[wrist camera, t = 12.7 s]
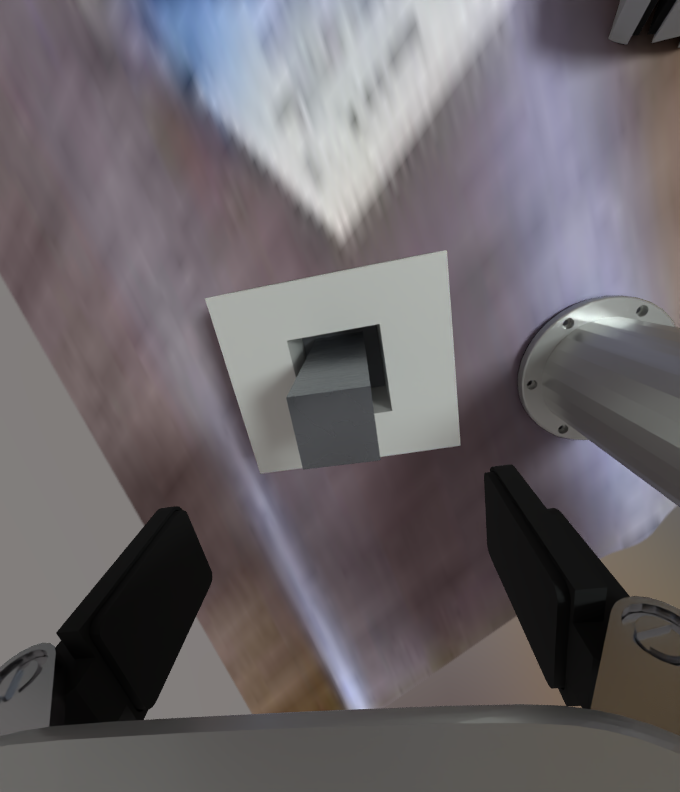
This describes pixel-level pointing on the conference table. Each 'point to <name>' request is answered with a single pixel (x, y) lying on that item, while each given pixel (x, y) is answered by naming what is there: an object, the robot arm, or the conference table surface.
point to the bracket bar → (334, 404)
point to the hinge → (670, 20)
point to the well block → (341, 314)
